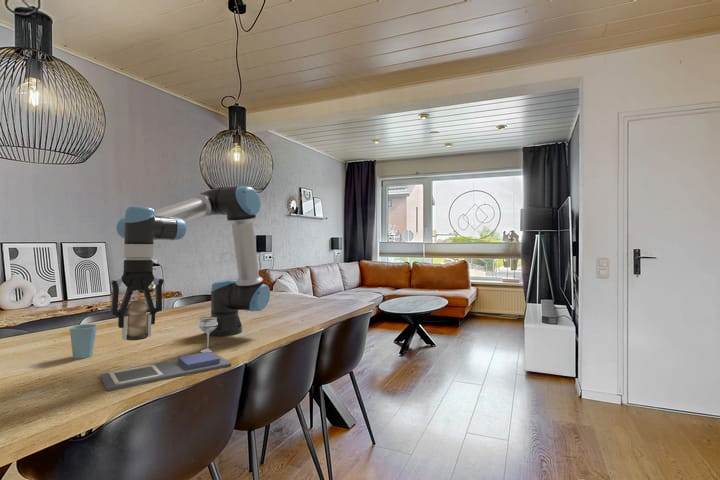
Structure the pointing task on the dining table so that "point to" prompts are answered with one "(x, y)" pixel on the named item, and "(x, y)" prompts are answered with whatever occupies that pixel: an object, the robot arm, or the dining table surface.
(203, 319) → the wineglass
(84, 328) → the cup
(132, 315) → the stamp
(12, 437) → the dining table surface
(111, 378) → the desk mat
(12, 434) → the dining table surface
